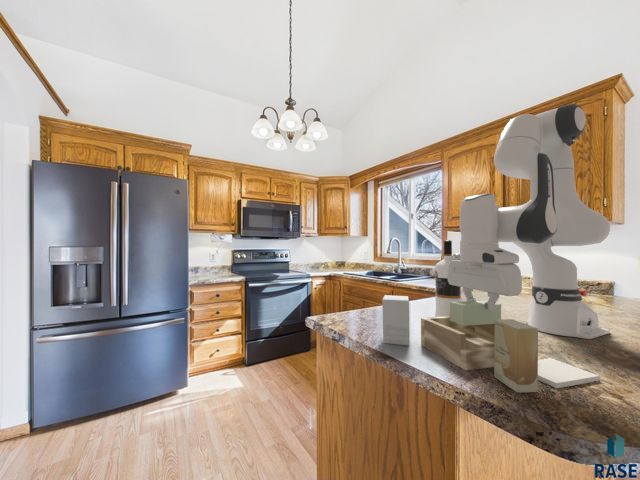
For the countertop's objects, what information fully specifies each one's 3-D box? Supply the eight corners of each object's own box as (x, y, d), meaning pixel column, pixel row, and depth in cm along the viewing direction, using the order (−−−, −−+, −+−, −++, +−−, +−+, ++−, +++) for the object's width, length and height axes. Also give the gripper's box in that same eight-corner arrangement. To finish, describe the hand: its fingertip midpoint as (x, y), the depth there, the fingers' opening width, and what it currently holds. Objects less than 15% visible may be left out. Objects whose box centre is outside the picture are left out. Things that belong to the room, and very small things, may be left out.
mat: (551, 362, 63) (551, 358, 63) (599, 380, 54) (599, 375, 54) (512, 368, 60) (511, 363, 60) (556, 388, 51) (556, 383, 51)
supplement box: (409, 337, 80) (409, 295, 80) (409, 346, 73) (409, 300, 73) (384, 335, 82) (384, 294, 83) (382, 343, 75) (382, 298, 76)
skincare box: (493, 377, 56) (492, 318, 56) (512, 376, 56) (511, 318, 56) (518, 394, 49) (517, 327, 50) (540, 393, 50) (539, 327, 50)
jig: (474, 339, 79) (474, 314, 79) (529, 361, 63) (529, 330, 64) (421, 344, 74) (420, 317, 74) (465, 370, 59) (465, 336, 59)
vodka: (465, 332, 86) (464, 239, 87) (434, 328, 89) (433, 239, 90) (461, 324, 94) (460, 240, 95) (433, 321, 98) (432, 240, 99)
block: (486, 319, 73) (486, 300, 73) (501, 323, 69) (501, 304, 69) (449, 320, 70) (449, 301, 70) (462, 325, 66) (463, 305, 66)
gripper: (441, 253, 80) (442, 299, 79) (504, 256, 60) (506, 318, 60) (459, 253, 81) (460, 298, 81) (526, 256, 61) (527, 315, 61)
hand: (480, 307), depth 70 cm, fingers closed on block, 4 cm apart
